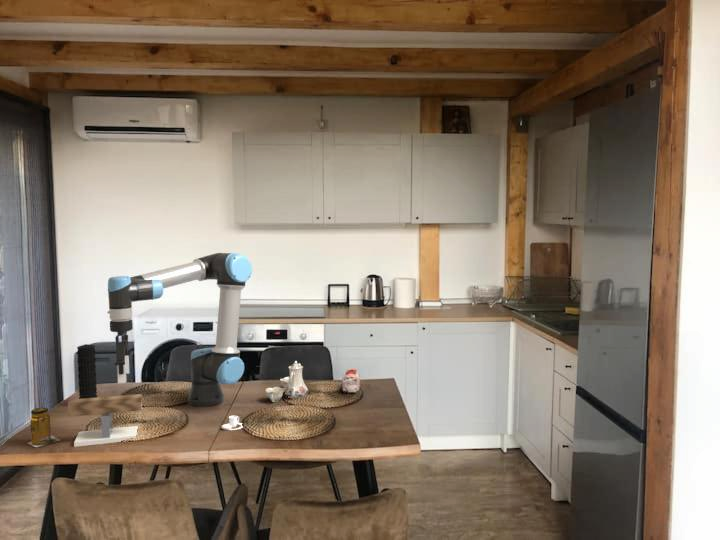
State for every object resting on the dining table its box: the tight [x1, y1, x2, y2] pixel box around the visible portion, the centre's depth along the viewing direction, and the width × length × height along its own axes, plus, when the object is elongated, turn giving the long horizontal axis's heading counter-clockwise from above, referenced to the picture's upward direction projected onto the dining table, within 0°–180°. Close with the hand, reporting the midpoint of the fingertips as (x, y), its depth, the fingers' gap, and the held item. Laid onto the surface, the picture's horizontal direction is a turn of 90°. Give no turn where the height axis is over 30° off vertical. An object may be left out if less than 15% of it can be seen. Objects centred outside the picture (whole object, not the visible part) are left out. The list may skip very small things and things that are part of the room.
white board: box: [73, 425, 139, 448], centre depth 209 cm, size 20×11×2 cm, turn 107°
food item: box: [341, 368, 361, 392], centre depth 267 cm, size 14×8×10 cm, turn 179°
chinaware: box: [264, 360, 309, 403], centre depth 259 cm, size 28×17×17 cm, turn 171°
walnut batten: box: [67, 393, 143, 418], centre depth 208 cm, size 24×4×5 cm, turn 105°
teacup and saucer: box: [221, 415, 244, 431], centre depth 220 cm, size 9×8×4 cm
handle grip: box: [76, 343, 98, 399], centre depth 246 cm, size 10×26×10 cm
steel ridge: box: [100, 413, 113, 439], centre depth 209 cm, size 2×9×8 cm, turn 18°
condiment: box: [27, 407, 60, 448], centre depth 205 cm, size 7×8×12 cm
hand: (123, 378), depth 209 cm, fingers open, 13 cm apart
